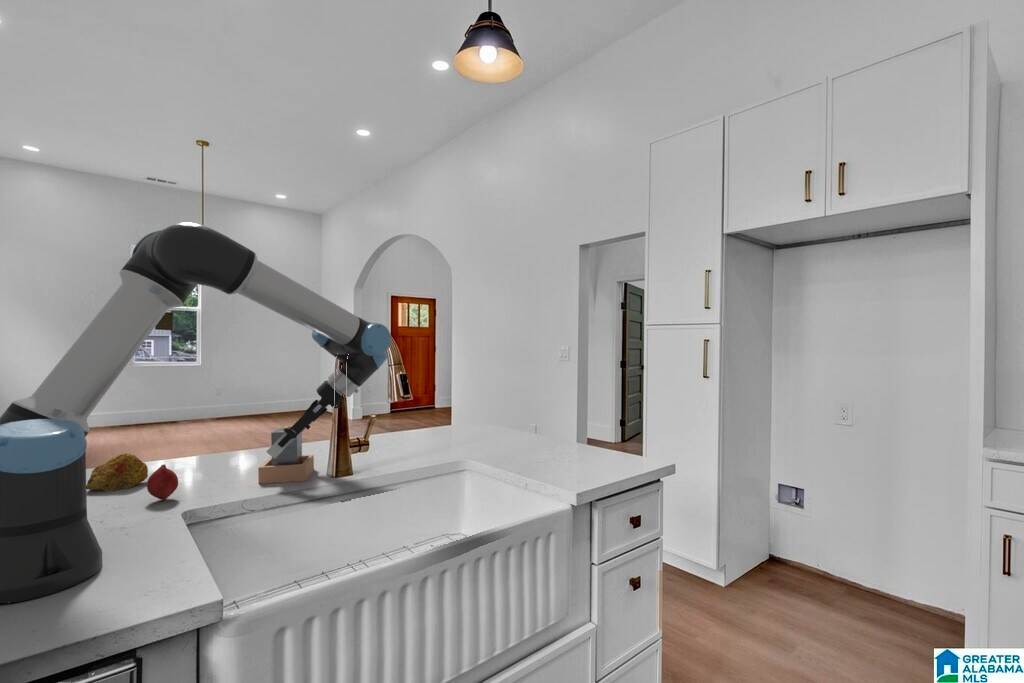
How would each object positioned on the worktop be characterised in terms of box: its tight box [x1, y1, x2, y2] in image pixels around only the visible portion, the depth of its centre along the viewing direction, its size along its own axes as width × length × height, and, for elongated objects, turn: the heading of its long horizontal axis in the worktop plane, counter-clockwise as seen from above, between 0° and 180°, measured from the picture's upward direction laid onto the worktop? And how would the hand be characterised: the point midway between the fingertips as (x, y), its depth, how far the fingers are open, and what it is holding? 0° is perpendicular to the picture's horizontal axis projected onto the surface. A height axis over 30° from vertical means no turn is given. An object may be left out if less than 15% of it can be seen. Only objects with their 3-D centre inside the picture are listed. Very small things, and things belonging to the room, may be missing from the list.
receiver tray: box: [257, 454, 315, 484], centre depth 133 cm, size 11×11×4 cm
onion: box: [146, 463, 179, 501], centre depth 115 cm, size 6×6×8 cm
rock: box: [86, 452, 149, 492], centre depth 126 cm, size 11×8×10 cm
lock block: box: [270, 425, 303, 466], centre depth 133 cm, size 6×6×12 cm
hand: (277, 449), depth 133 cm, fingers open, 13 cm apart
